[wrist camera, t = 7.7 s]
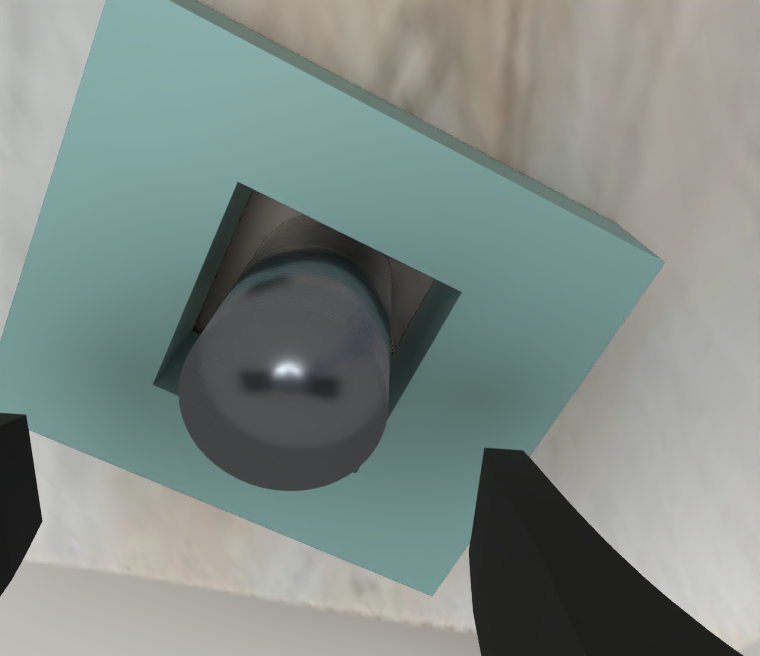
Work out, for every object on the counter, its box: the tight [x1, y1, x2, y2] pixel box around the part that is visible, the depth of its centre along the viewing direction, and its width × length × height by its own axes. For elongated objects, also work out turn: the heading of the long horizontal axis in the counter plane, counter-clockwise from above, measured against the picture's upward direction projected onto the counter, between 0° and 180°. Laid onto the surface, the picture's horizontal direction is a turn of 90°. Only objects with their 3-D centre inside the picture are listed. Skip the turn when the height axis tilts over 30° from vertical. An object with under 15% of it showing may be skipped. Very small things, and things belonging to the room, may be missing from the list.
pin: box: [178, 215, 392, 491], centre depth 16 cm, size 4×4×7 cm
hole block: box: [0, 0, 665, 596], centre depth 18 cm, size 13×11×4 cm
